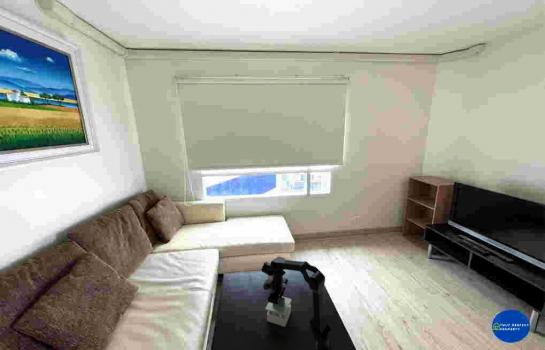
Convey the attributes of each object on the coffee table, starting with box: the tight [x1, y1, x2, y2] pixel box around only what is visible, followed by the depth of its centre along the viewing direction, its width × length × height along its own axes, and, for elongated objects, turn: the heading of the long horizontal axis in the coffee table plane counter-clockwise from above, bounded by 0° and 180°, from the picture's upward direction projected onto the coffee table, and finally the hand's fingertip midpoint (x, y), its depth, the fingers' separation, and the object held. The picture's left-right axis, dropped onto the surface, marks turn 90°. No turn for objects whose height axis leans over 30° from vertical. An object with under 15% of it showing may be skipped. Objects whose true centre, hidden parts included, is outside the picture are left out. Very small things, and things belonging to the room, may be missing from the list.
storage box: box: [266, 304, 292, 328], centre depth 127 cm, size 11×11×5 cm
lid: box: [264, 296, 292, 316], centre depth 125 cm, size 12×12×6 cm
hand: (278, 302), depth 125 cm, fingers closed on lid, 2 cm apart
